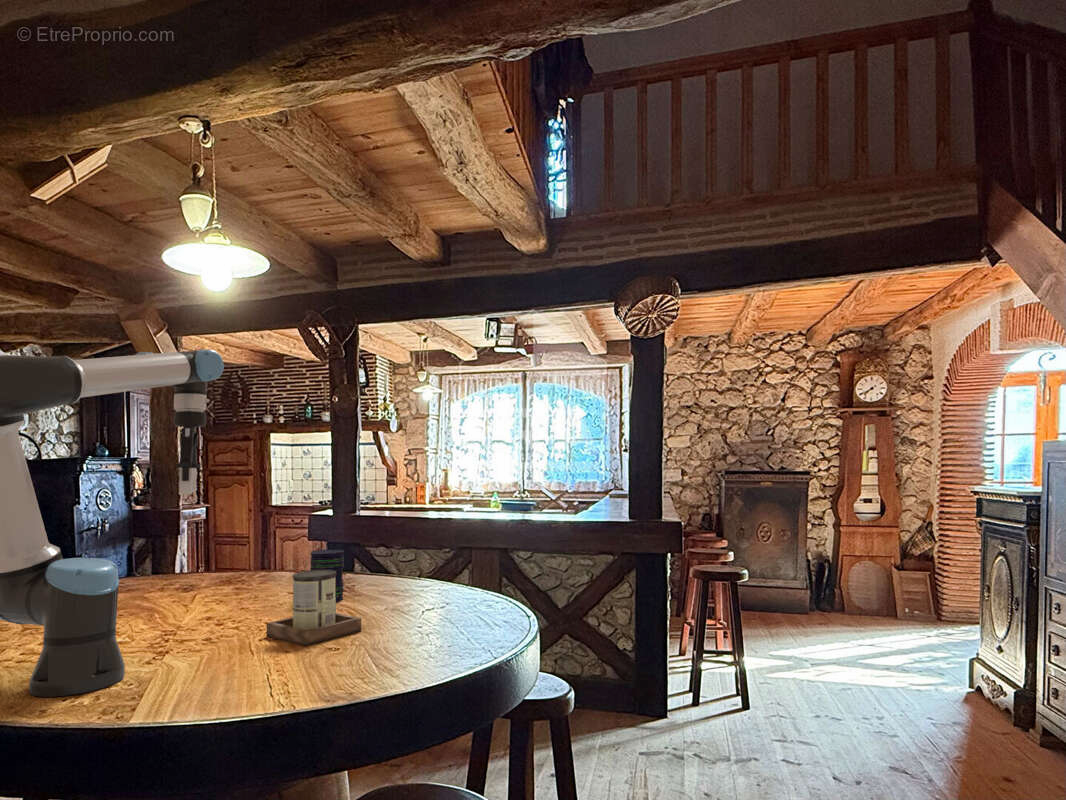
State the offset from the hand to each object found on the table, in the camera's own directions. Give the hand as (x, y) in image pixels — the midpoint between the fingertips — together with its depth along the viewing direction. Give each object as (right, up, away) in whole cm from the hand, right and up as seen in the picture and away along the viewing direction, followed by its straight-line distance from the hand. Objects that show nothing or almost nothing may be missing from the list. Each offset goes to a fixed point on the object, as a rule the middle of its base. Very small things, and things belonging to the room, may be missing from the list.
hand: (187, 493), depth 167 cm
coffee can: (+35, -33, -7) cm, 49 cm away
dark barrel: (+26, -38, +32) cm, 56 cm away
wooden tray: (+35, -34, -7) cm, 49 cm away
